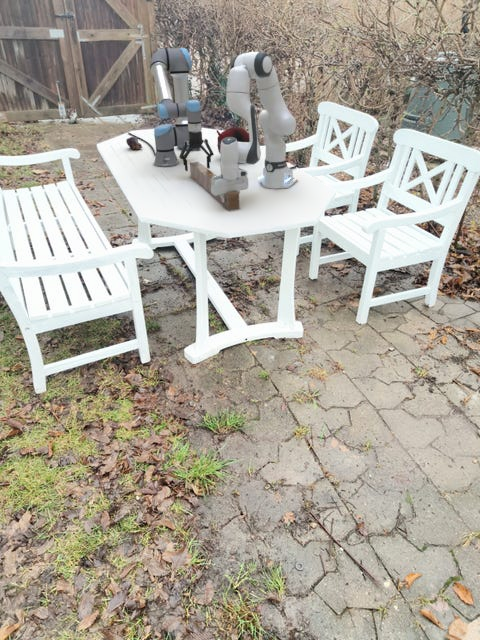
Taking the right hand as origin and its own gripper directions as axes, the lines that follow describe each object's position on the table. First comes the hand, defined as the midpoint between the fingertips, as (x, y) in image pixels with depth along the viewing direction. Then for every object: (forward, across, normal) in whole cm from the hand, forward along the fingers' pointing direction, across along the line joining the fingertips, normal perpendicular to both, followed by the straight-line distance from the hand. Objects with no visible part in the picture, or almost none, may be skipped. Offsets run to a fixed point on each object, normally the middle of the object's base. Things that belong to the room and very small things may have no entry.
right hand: (230, 200), depth 228 cm
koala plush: (+3, +37, +118) cm, 123 cm away
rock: (+3, +3, +138) cm, 138 cm away
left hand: (-3, +8, +50) cm, 50 cm away
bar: (+3, +4, +25) cm, 25 cm away
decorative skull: (+3, +48, +72) cm, 87 cm away
